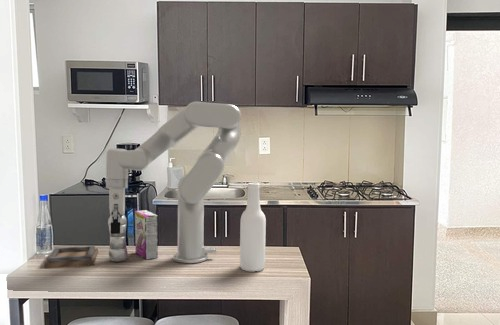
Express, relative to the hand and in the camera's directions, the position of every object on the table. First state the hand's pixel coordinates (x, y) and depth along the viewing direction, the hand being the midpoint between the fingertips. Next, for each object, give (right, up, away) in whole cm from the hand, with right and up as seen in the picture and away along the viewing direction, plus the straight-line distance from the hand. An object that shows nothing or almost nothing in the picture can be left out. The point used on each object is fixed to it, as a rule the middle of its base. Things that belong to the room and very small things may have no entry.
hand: (116, 230), depth 165 cm
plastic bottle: (0, -11, +1) cm, 11 cm away
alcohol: (+49, -13, -5) cm, 51 cm away
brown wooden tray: (-16, -11, +1) cm, 19 cm away
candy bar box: (+9, -11, +8) cm, 16 cm away
